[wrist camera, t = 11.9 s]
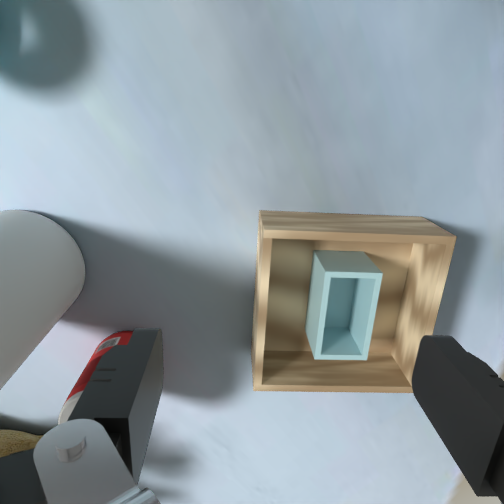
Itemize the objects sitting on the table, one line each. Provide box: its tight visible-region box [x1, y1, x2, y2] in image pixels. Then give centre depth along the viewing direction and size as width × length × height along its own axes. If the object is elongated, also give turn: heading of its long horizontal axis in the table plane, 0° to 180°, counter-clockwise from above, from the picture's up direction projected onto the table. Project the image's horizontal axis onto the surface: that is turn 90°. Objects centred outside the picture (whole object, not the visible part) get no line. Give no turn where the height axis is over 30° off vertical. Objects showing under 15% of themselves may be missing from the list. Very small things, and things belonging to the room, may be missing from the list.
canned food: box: [58, 331, 133, 425], centre depth 42 cm, size 8×8×11 cm
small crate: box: [305, 250, 383, 360], centre depth 41 cm, size 10×6×6 cm, turn 177°
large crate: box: [251, 210, 457, 393], centre depth 41 cm, size 18×18×7 cm
